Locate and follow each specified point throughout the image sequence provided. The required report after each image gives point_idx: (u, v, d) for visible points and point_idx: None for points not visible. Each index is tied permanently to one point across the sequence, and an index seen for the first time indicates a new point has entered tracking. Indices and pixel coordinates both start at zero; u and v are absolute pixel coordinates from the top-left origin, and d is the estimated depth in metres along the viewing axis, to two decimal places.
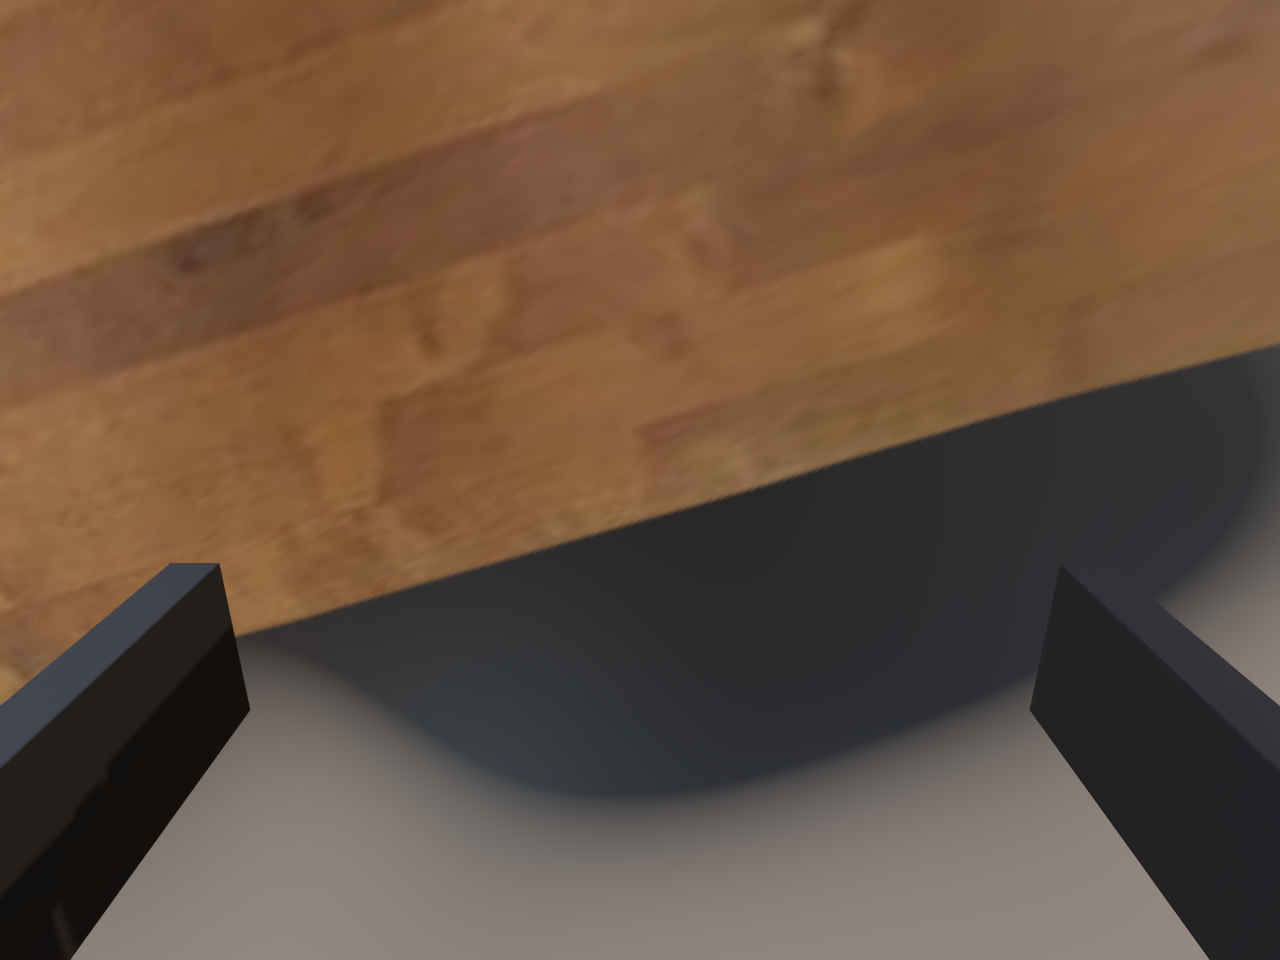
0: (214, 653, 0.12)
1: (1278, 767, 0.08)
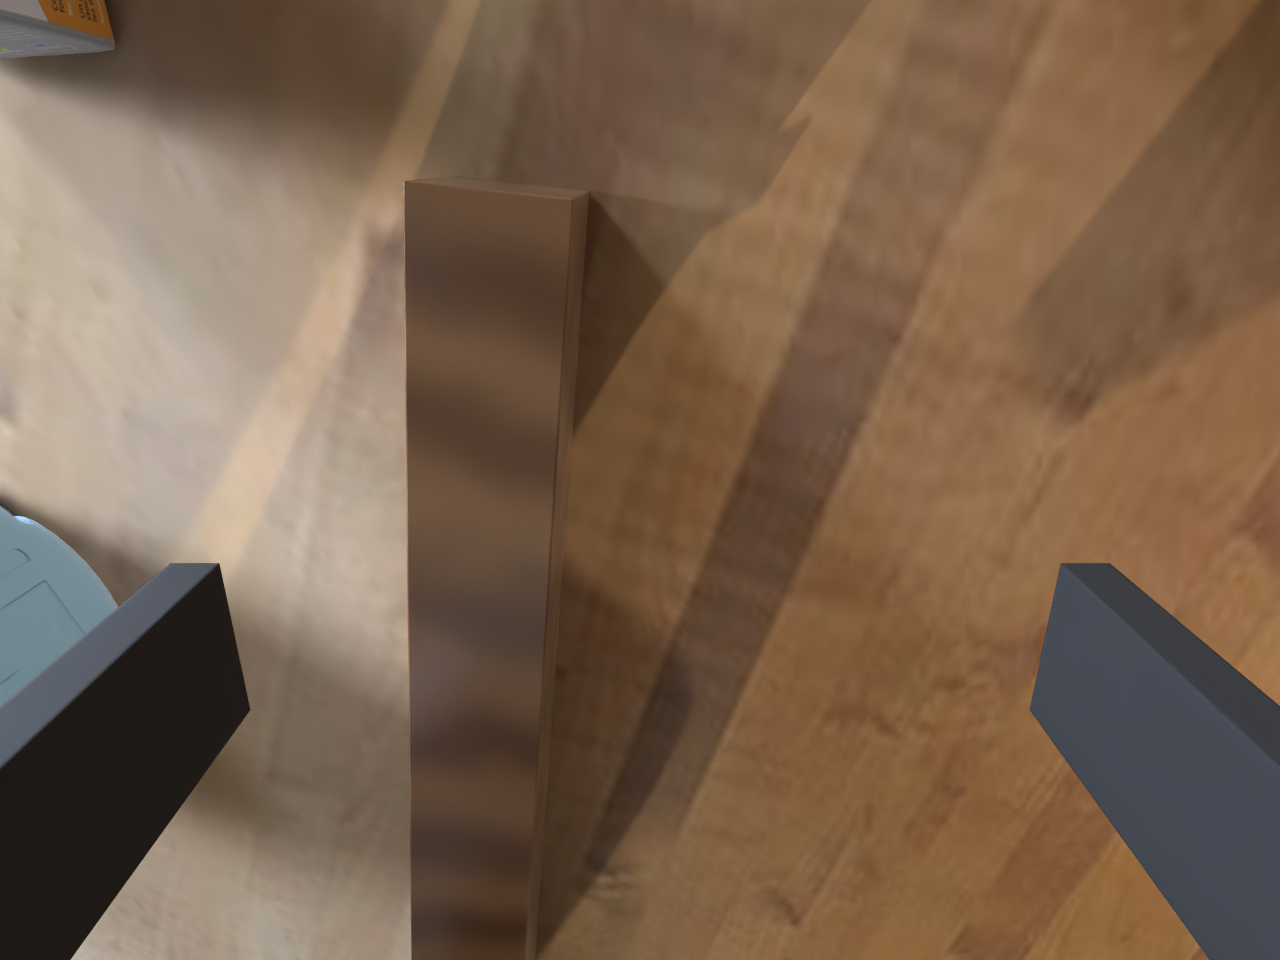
0: (214, 653, 0.12)
1: (1278, 767, 0.08)
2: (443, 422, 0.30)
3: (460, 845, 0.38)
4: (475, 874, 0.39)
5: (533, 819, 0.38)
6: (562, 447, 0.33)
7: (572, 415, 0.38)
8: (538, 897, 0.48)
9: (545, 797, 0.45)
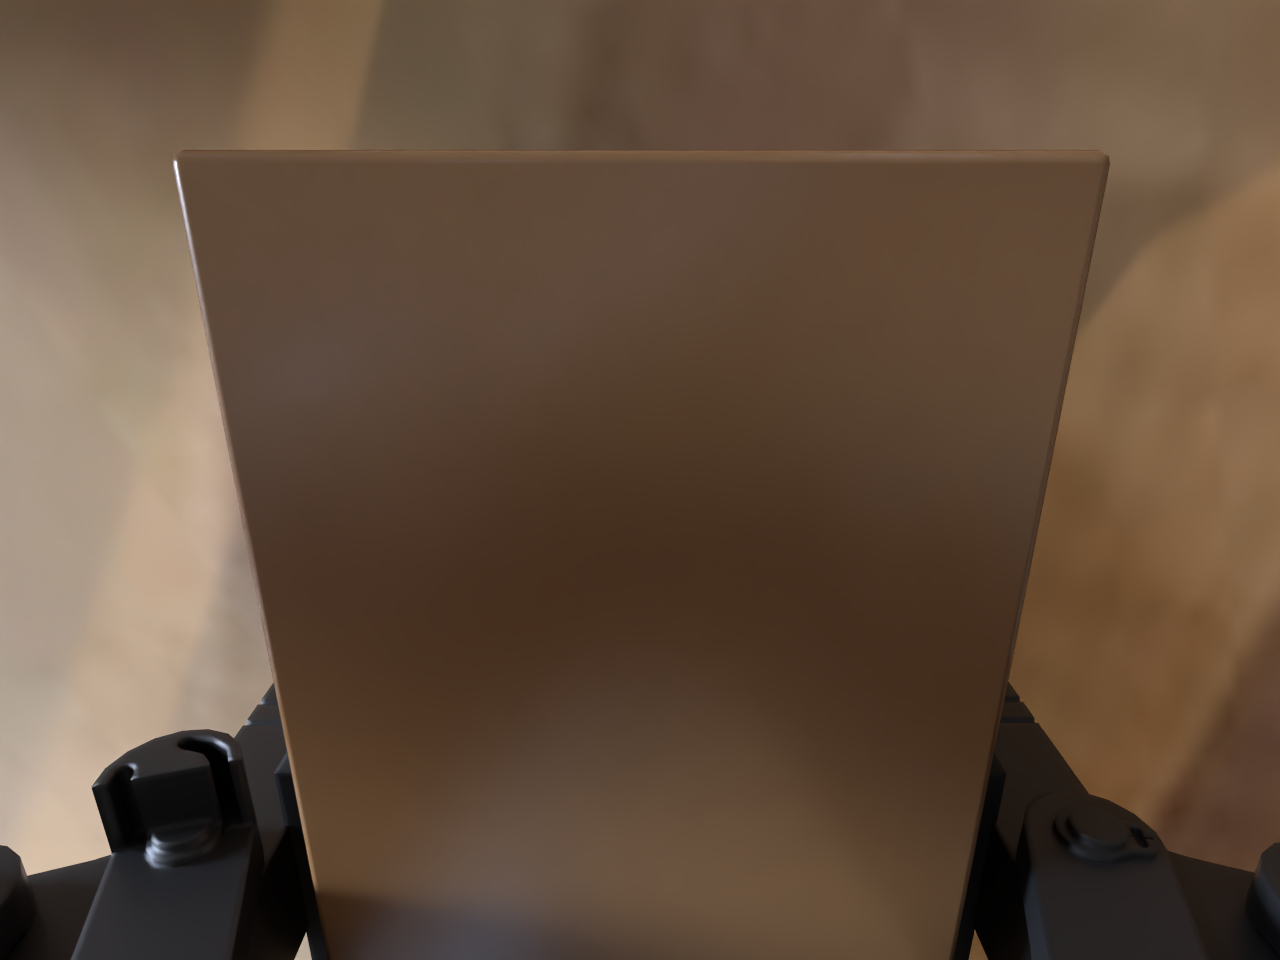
0: None
1: None
2: None
3: None
4: None
5: None
6: None
7: None
8: None
9: None
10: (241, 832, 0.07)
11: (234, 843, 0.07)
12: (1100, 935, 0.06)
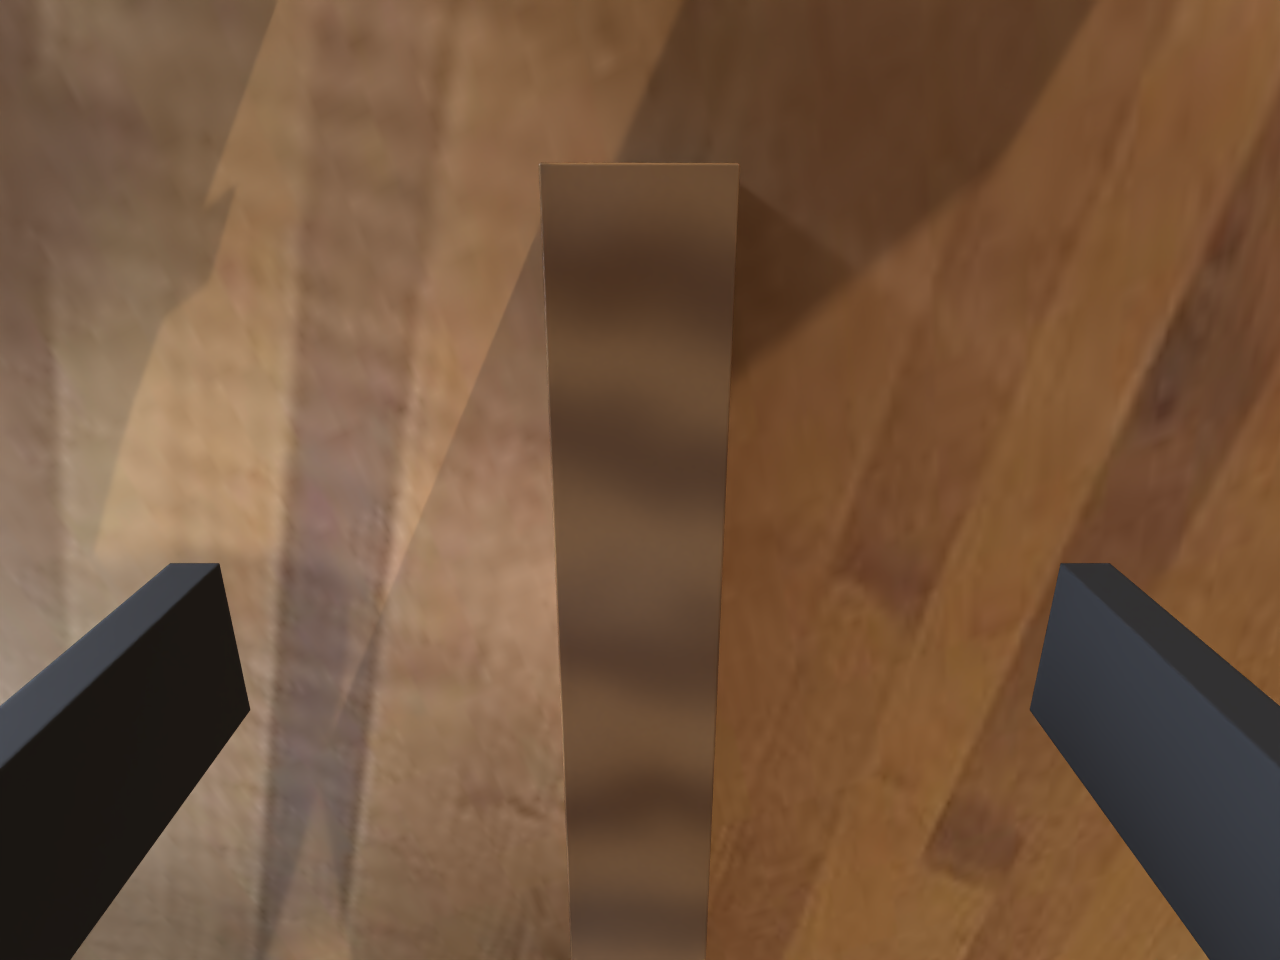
0: (214, 653, 0.12)
1: (1278, 767, 0.08)
2: (593, 441, 0.26)
3: (626, 917, 0.34)
4: (644, 947, 0.34)
5: (708, 882, 0.33)
6: None
7: None
8: None
9: None
10: None
11: None
12: None
